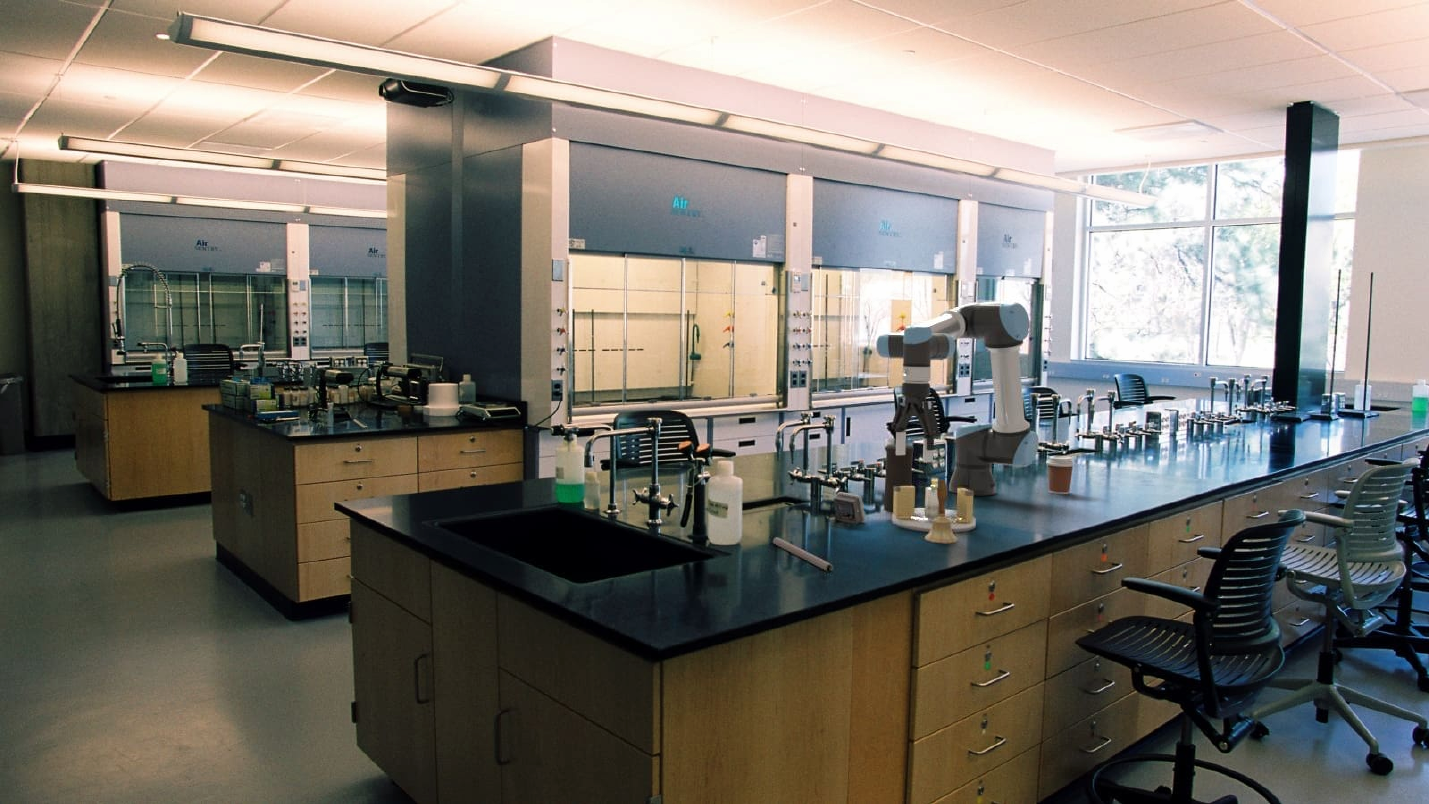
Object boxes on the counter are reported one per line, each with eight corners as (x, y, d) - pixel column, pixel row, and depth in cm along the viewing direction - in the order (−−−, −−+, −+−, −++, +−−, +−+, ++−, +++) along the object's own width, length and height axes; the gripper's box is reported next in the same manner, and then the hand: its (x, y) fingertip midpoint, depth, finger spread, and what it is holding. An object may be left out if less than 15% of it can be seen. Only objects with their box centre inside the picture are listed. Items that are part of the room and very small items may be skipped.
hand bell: (951, 545, 231) (953, 483, 229) (920, 540, 235) (922, 480, 234) (961, 538, 238) (963, 479, 236) (930, 534, 242) (932, 475, 241)
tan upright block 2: (952, 519, 251) (953, 487, 250) (966, 518, 252) (967, 487, 251) (962, 524, 246) (963, 491, 245) (976, 523, 246) (977, 491, 246)
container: (915, 508, 276) (916, 443, 275) (908, 513, 268) (910, 447, 267) (887, 505, 280) (888, 441, 278) (879, 510, 272) (881, 445, 270)
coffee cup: (1069, 490, 308) (1070, 455, 307) (1077, 495, 299) (1078, 459, 298) (1041, 489, 309) (1043, 455, 308) (1048, 494, 300) (1050, 459, 299)
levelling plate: (880, 515, 265) (881, 479, 264) (953, 513, 269) (954, 477, 268) (910, 534, 242) (912, 494, 241) (990, 531, 246) (991, 492, 245)
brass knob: (941, 511, 261) (942, 481, 261) (926, 510, 262) (927, 480, 262) (941, 507, 267) (942, 478, 266) (926, 506, 268) (927, 477, 267)
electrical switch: (866, 522, 256) (864, 494, 255) (856, 526, 253) (854, 498, 251) (842, 518, 262) (841, 490, 261) (832, 522, 259) (831, 494, 257)
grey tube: (825, 572, 206) (825, 564, 205) (773, 545, 231) (773, 537, 230) (832, 571, 206) (832, 563, 206) (779, 544, 231) (779, 536, 231)
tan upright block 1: (908, 515, 256) (909, 484, 255) (916, 518, 251) (917, 487, 251) (890, 516, 254) (891, 485, 253) (897, 519, 250) (898, 488, 249)
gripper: (880, 379, 259) (878, 452, 261) (930, 385, 236) (928, 465, 238) (903, 379, 262) (900, 451, 263) (954, 385, 238) (952, 464, 240)
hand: (913, 458), depth 250 cm, fingers open, 13 cm apart
